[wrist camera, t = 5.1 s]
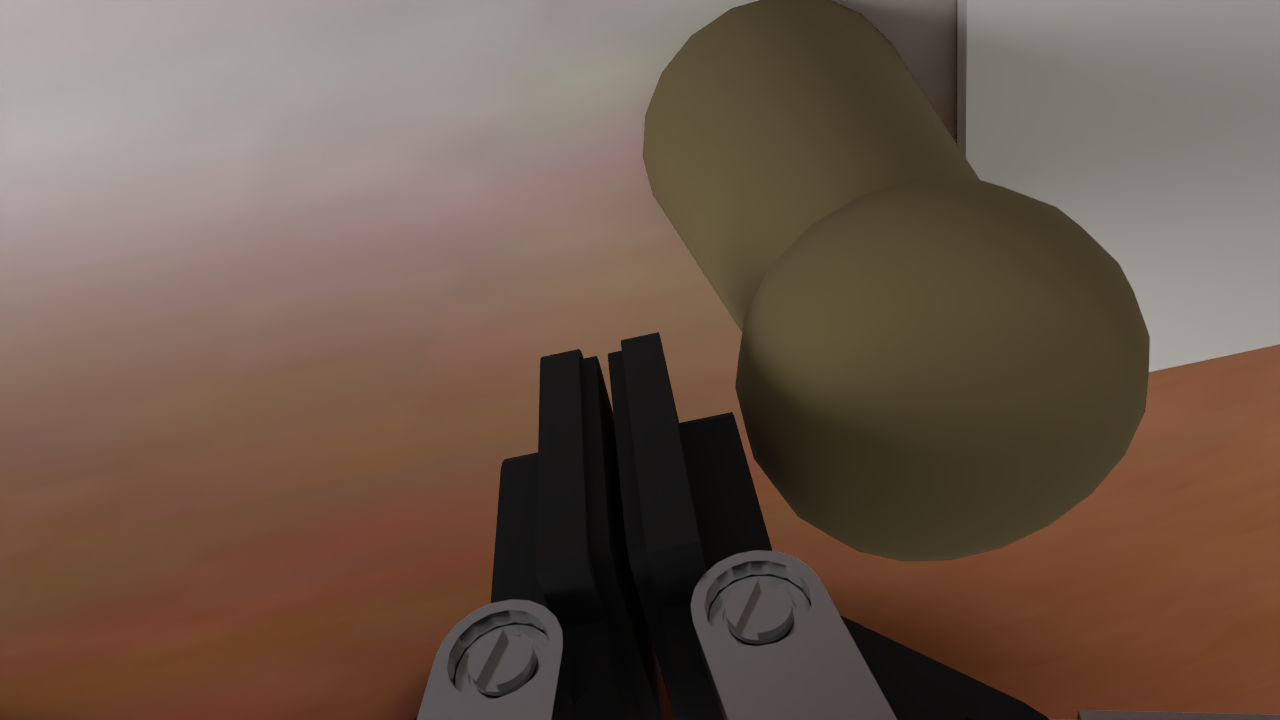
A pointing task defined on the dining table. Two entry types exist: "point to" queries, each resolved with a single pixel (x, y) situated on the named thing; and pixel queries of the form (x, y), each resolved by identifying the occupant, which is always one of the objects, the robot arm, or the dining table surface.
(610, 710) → the robot arm
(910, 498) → the cork
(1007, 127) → the mat
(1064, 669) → the dining table surface
